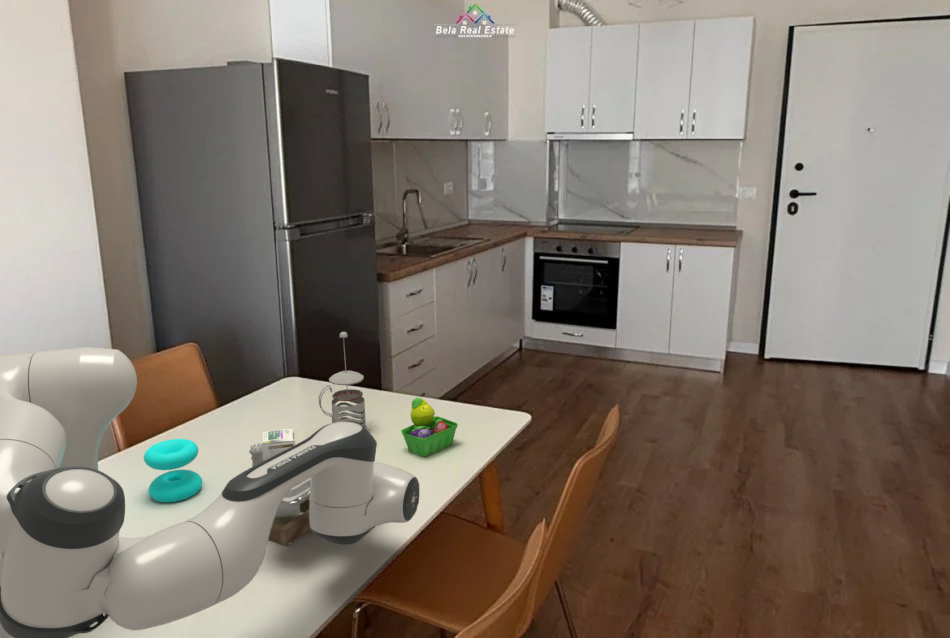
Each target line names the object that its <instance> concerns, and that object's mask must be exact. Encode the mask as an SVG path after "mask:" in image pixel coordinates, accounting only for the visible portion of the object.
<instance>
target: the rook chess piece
mask: <svg viewBox="0 0 950 638" xmlns="http://www.w3.org/2000/svg"><path fill="white" fill-rule="evenodd" d="M248 453H249V454H250V455H251V458H250V460H251V462H252V466H251V467H253V466H255V465H257V464H259V463H261V462H263V455H262V443H261V444H260V443H257V445H256V444H255V443H254V444H253V445H250V449H249V452H248Z"/></svg>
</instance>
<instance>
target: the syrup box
mask: <svg viewBox="0 0 950 638" xmlns="http://www.w3.org/2000/svg"><path fill="white" fill-rule="evenodd" d="M261 444H262V455H263V461H265V460H267V459H268V458H270V457H272V456H274V455H276V454H278V453H280V452H282V451H284V450H286V449H288V448H290V447H292V446H294V445H296V439H295V429H293V428H286V429H285V428H284V429H282V428H281V429H273V430H268V431H264V432H262V433H261ZM300 512H301V511H300V504H299V505H298V506H295V507H292V508H282V507H279V508H278V510H277V513H276V515H275V517H280V516H286V515H292V514H297V513H300Z"/></svg>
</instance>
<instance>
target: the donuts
mask: <svg viewBox="0 0 950 638" xmlns="http://www.w3.org/2000/svg"><path fill="white" fill-rule="evenodd" d="M198 454H199V447H198V445H197V444H196V442H195V441H193V440H190V439H186V438H174V439H173V438H172V439H168V440H167V439H166V440H162V441H160V442H157V443H154V444H153V445H152V446H150V447H149V448H148V449H146V451H145V453H144V454H143V455H144V456H143V462H145V464H146V466H148V467H149V468H150V469H154V470H159V471H167V472H165V473H162V474H160V475H158V476H157V477H155V478H154V479H153V480H152V481H151V483H150V484H149V487H148V494H149V496H150V497H151V498H152V500H155V501H157V502H160V503H174V502H181V501H183V500H186V499H189V498H191V497H192V496H194V495H196V494H197V493H198V492H199V491H200V490H201V488H202V487H203V479H202V477H201V475H200V474H198V473H197V472H196V471H193V470H191V469H190V470H189V469H180V468H183V467H185V466H187V465H189V464H191V463H192V462H193V461H195V459H197V457H198Z"/></svg>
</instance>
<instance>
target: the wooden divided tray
mask: <svg viewBox="0 0 950 638" xmlns="http://www.w3.org/2000/svg"><path fill="white" fill-rule="evenodd" d="M309 499H310V498H309ZM309 499H307V500H306V501H305V502H303V503H301V504H300V513H297V514H292V515H286V516H280V517H275V518H274V521H273V525H272V528H271V531H270V535H269V539H268V541H271V542H273V543H277V544H281V545H283V546H285V547H288V545H290V544H291V543H293V542H294V541H296V540H297V539H298V538H300V537H302V535H304V534H306V533H307V532H309V531H310V530H311V529H310V523H309Z"/></svg>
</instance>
